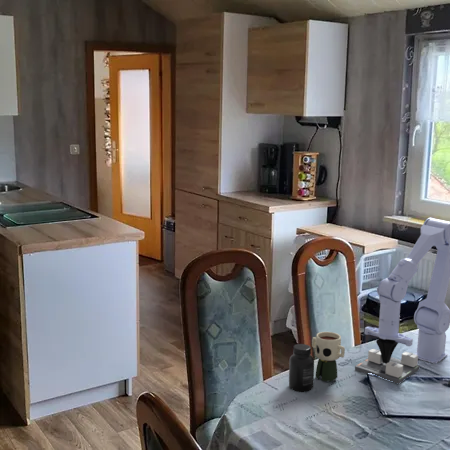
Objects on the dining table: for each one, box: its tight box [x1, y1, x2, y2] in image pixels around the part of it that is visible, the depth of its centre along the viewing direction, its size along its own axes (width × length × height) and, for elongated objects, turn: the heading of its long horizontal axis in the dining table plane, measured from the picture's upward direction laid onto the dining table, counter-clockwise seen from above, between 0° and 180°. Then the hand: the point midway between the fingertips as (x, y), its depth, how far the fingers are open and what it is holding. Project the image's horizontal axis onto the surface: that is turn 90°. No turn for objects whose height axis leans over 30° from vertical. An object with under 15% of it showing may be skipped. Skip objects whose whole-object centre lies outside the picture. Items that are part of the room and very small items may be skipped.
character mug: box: [311, 331, 346, 382], centre depth 177 cm, size 11×7×13 cm, turn 46°
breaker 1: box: [385, 361, 403, 378], centre depth 177 cm, size 3×4×3 cm, turn 48°
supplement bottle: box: [288, 343, 315, 393], centre depth 171 cm, size 7×7×12 cm
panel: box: [354, 356, 421, 385], centre depth 184 cm, size 14×14×1 cm
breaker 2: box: [400, 351, 419, 367], centre depth 185 cm, size 3×4×3 cm, turn 48°
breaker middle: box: [367, 348, 383, 364], centre depth 186 cm, size 3×4×3 cm, turn 48°
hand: (386, 362), depth 184 cm, fingers closed
